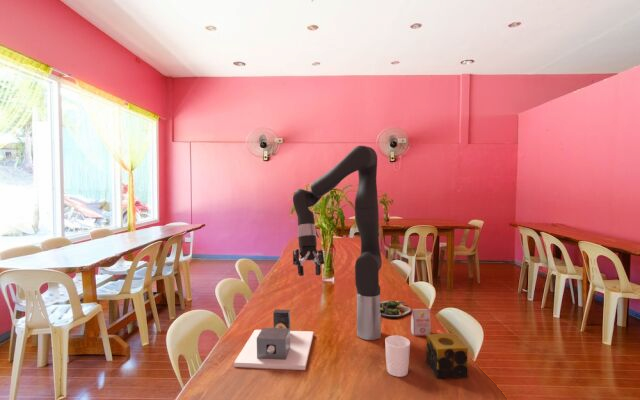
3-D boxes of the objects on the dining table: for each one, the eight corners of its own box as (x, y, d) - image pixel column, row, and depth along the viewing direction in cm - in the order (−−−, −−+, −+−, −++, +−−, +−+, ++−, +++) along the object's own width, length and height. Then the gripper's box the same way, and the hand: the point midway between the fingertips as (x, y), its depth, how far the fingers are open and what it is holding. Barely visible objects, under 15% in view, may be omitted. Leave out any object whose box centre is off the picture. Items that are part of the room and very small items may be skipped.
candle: (454, 360, 112) (455, 332, 111) (469, 378, 102) (469, 347, 101) (425, 361, 112) (425, 333, 111) (436, 379, 101) (437, 348, 101)
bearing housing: (290, 347, 119) (289, 328, 118) (285, 359, 111) (285, 339, 110) (263, 346, 119) (262, 327, 119) (257, 358, 112) (256, 338, 111)
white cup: (392, 380, 101) (392, 348, 101) (380, 366, 109) (380, 337, 108) (414, 375, 103) (414, 345, 103) (401, 362, 111) (402, 333, 110)
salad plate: (392, 300, 169) (392, 291, 168) (420, 311, 154) (420, 302, 153) (363, 308, 158) (363, 299, 158) (390, 322, 143) (390, 311, 143)
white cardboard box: (410, 331, 134) (411, 307, 133) (427, 331, 134) (427, 307, 133) (413, 335, 130) (413, 311, 129) (430, 335, 130) (430, 311, 129)
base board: (313, 335, 131) (313, 331, 131) (305, 370, 107) (305, 365, 107) (255, 333, 133) (255, 329, 133) (234, 366, 109) (234, 362, 109)
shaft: (290, 332, 130) (290, 309, 129) (279, 359, 110) (278, 333, 109) (275, 331, 130) (275, 309, 130) (261, 358, 110) (261, 333, 110)
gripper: (298, 233, 129) (301, 275, 125) (325, 235, 138) (329, 274, 134) (288, 236, 135) (290, 277, 130) (315, 238, 144) (317, 275, 139)
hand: (310, 275), depth 132 cm, fingers open, 8 cm apart
